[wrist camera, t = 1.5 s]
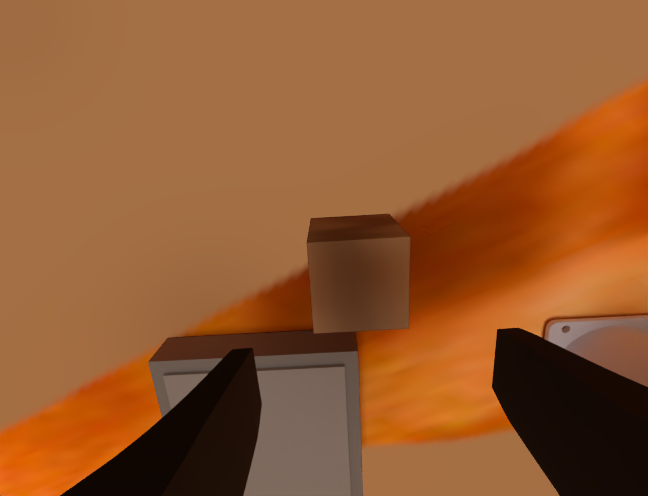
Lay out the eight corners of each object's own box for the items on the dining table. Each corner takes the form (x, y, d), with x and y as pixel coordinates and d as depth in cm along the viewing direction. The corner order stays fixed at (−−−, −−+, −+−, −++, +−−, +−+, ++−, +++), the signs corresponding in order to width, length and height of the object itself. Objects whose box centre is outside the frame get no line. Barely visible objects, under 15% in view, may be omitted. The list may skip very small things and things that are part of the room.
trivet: (354, 328, 21) (358, 353, 19) (359, 470, 25) (363, 509, 22) (167, 337, 22) (146, 364, 19) (199, 477, 25) (184, 516, 23)
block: (388, 213, 19) (410, 236, 15) (389, 285, 21) (408, 328, 16) (310, 218, 19) (306, 242, 15) (316, 289, 21) (313, 333, 16)
